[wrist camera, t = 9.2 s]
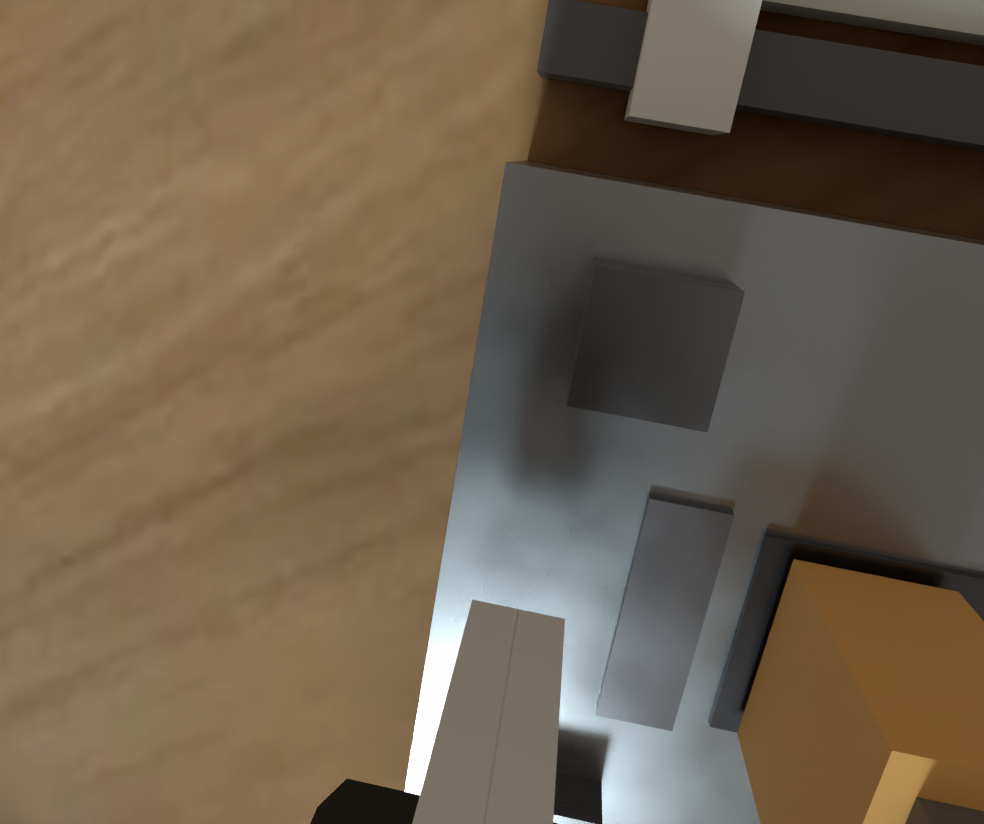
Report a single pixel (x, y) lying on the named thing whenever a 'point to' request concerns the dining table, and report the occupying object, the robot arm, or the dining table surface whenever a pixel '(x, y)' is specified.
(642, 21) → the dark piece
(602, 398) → the panel
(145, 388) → the dining table surface
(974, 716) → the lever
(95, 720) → the dining table surface
